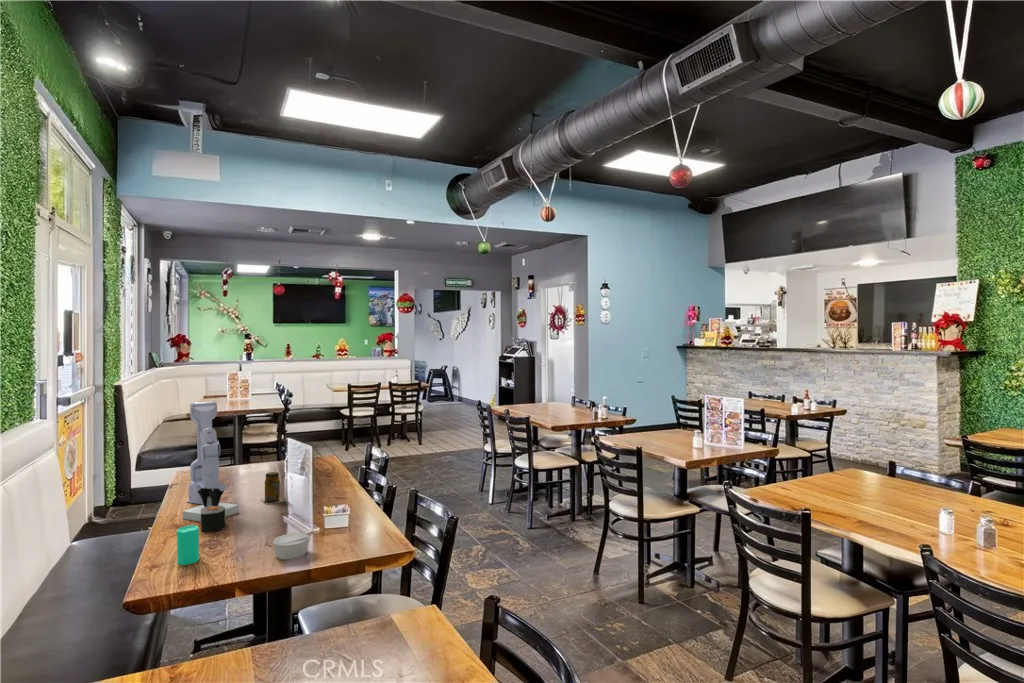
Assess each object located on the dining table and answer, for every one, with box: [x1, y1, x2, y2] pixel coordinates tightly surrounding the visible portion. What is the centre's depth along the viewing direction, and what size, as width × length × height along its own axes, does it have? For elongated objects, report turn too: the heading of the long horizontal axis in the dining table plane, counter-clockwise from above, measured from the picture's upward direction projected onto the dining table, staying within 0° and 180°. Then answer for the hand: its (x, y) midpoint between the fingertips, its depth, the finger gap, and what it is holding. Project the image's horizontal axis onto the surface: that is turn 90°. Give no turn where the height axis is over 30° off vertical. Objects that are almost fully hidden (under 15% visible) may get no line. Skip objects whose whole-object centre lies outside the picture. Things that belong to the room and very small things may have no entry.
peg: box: [207, 495, 212, 508], centre depth 222 cm, size 4×4×7 cm
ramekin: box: [272, 532, 310, 561], centre depth 181 cm, size 11×11×5 cm
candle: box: [176, 524, 200, 566], centre depth 176 cm, size 6×6×12 cm
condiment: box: [261, 471, 284, 505], centre depth 241 cm, size 7×8×12 cm
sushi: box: [200, 506, 226, 534], centre depth 206 cm, size 8×8×8 cm
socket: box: [182, 501, 240, 523], centre depth 221 cm, size 14×14×3 cm
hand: (211, 506), depth 221 cm, fingers closed on peg, 4 cm apart
